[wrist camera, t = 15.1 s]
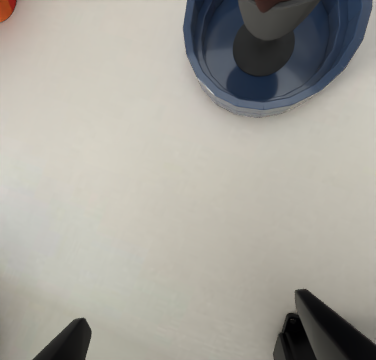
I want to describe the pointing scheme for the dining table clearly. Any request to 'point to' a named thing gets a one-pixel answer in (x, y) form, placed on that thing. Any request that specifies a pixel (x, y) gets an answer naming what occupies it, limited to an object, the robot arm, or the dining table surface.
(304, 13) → the sundae
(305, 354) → the robot arm
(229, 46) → the bowl
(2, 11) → the paper cup
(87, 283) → the dining table surface
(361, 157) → the dining table surface
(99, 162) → the dining table surface
